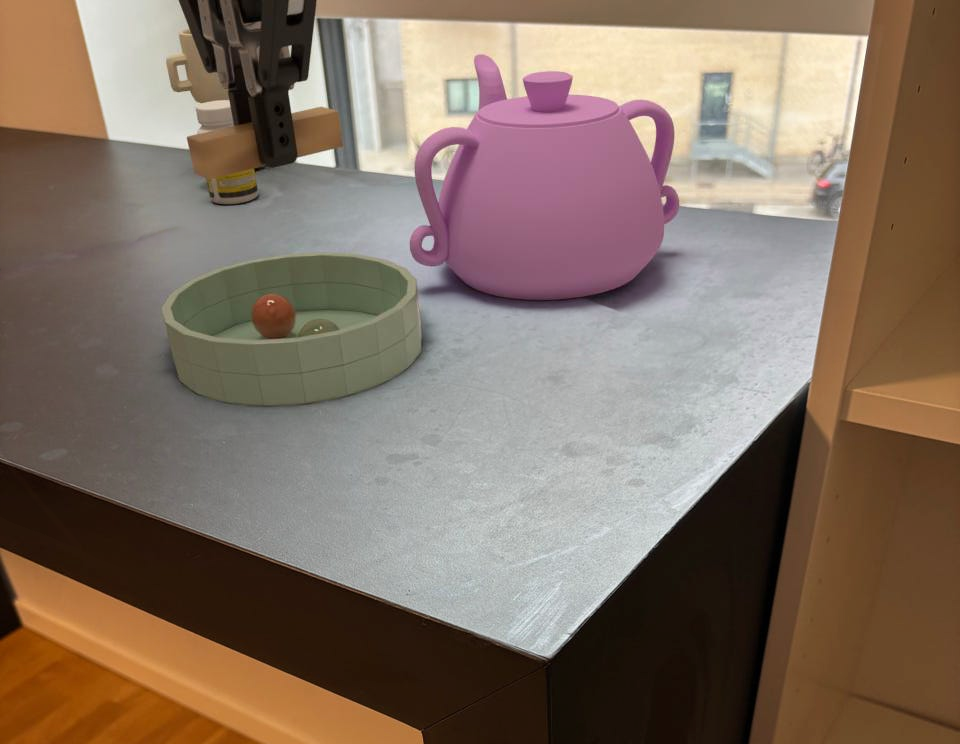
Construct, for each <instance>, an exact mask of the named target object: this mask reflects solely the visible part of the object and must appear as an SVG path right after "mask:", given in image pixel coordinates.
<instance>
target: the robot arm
mask: <svg viewBox="0 0 960 744" xmlns="http://www.w3.org/2000/svg"><path fill="white" fill-rule="evenodd" d="M317 1H318V0H178V2H179V5H180V9H181V10H182V13H183V15H184V19H185V22H186V24H187V26H188V29H190V31H191V34H192V37H193V39H194V42H195V44H196V47H197V50H198V52H199V55H200V57H201V60H202V62H203V65H204V68H205V70H206V71H207V72H208V73H214V72H217V73H218V78H219V82H220V84H221V86H222V87H223V88H224V89H228V90H229V91H228V96H229V101H230V107H231V112H232V118H233V123H234V126H237V125H241V124H245V123H250V122H252V123H253V129H254V132H255V138H256V143H257V149H258V155H259V160H260V162H261V163H262V164H263V165H264V166H263V167H267V168H271V169H274V168H277V167H283V166H286V165H291V164H294V163H295V162H296V161H297V159H298V158H297V155H298V154H297V147H296V140H295V133H294V127H293V120H292V114H291V113H292V109H291V100H290V95H289V94H290V93H289V91H292V90H294V88H295V84H296V83H301V82H306V81H308V79H309V73H310V66H311V65H310V64H311V55H312V44H313V38H314V28H315V18H316V10H317V3H318V2H317ZM212 44H213V45H212ZM290 46H291V48H290Z"/></svg>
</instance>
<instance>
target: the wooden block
mask: <svg viewBox="0 0 960 744" xmlns="http://www.w3.org/2000/svg"><path fill="white" fill-rule="evenodd" d="M291 114H292V120H293V127H294V133H295V140H296V147H297V154H298V155H297V159H298V158H302V157H306V156H310V155H311V156H312V155H315V154H319V153H322V152H327V151H331V150H334V149H339V148H342V147H343V146H344V142H343V136H342V129H341V121H340V113H339V110H337V109H333V108H329V107H324V106H317V107H314V108H308V109H304V110H299V111H295V112H291ZM186 141H187V146H188V150H189V155H190V159H191V162H192V167H193V171H194V174H195V175H198V176H201V177H203V178H205V179H206V178H208V179H213V178H217V177H221V176H225V175H229V174H233V173H238V172H242V171H246V170H250V169H254V170H255V169H257V168H261V167H265V166H264V165H263V164H262V163H261V162H260V160H259V155H258V149H257V143H256V138H255V132H254V129H253V123H252V122H250V123H245V124H241V125H237V126H232V127H228V128H223V129H219V130H214V131H210V132H205V133H201V134H197V133H196V134H193V135H188V136H186Z"/></svg>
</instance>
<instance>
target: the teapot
mask: <svg viewBox="0 0 960 744" xmlns="http://www.w3.org/2000/svg"><path fill="white" fill-rule="evenodd" d="M473 66H474V69H475V72H476V76H477V82H478V83H477V84H478V111H477V112H476V113H475V115H474V116H473V118H472V119H471V121H470V123H469V124H468V126H467V128H464V127H460V126H459V127H458V126H450V127H445V128H442V129H440V130H437V131H436V132H433V133H432V134H431V135H430V136H428V137H427V138H426V139H425V140H424V141H423V143H422V144H421V145H420V146H419V148H418V149H417V152H416V155H415V159H414V167H413V168H414V169H413V170H414V179H415V184H416V188H417V192H418V195H419V198H420V201H421V204H422V207H423V210H424V212H425V214H426V218H427V221H428V223H429V225H427V224H423V225H420V226H417V227H416V228H415V229H414V230H413V231H412V234H411V235H410V238H409V239H410V240H409V251H410V254H411V257H412V259H413V260H414V261H415V262H416V263H418V264H420V265H422V266H425V267H438V266H441V265H443V264H444V263H445V264H446V265H447V266H448V267H449V268H450V269H451V270H452V272H454V273H455V275H457V277H458V278H459V279H460V280H461V281H462V282H463V283H465V285H468V287H470V288H472V289H473V290H476V291H479V292H480V293H481V292H482V293H485V294H488V295H492V296H495V297H502V298H507V299H515V300H527V301H555V300H567V299H574V298H576V299H577V298H582V297H588V296H593V295H598V294H601V293H605V292H609V291H612V290H615V289H617V288H620V287H622V286H624V285H627V283H629V282H631V281H632V280H634V279H635V278H636V277H637V276H638V275H639V274H640V273H641V271H642V270H643V269H644V268H645V267H647V265H648V264H649V263H650V262H651V260H652V259H653V258H654V256H656V254H657V253H658V251H659V250H660V248H661V247H662V243H663V240H664V236H665V225H667V224H668V223H670V222H671V221H672V220H673V219H675V217H676V216H677V215H678V214H679V213H678V212H679V210H680V198H679V194H678V193H677V191H676V189H675V188H673V186H670V185H665V184H664V183H665V180H666V177H667V173H668V171H669V166H670V163H671V160H672V156H673V151H674V144H675V125H674V122H673V119H672V117H671V114H670V113H669V112H668V111H667V110H666V109H665V108H664V107H663V106H661V105H660V104H659V103H656V102H654V101H651V100H648V99H633V100H630V101H627V102H625V103H623V104H621V105H619V104H618V103H617V102H615V101H613V100H611V99H609V98H605V97H600V96H595V95H587V94H586V95H585V94H571V93H570V90H571V87H572V84H573V79H574V77H573V75H572V74H570V73H568V72H566V71H558V70H557V71H556V70H554V71H553V70H549V71H548V70H547V71H539V72H533V73H529V74H527V75H525V76H523V78H522V83H523V88H524V90H525V94H526V96H517V97H512V98H508V97H507V93H506V89H505V85H504V82H503V78H502V74H501V71H500V68H499V66H498V65H497V63H496V62H495V60H494V59H493V58H492V57H491V56H488V55H486V54H483V53H482V54H481V53H479V54H476V55H475V56H474V58H473ZM639 117H648V118H651V119H652V120H653V122H654V125H655V142H654V147H653V151H652V152H653V153H652V156H651V160H650V157H649V155H648V153H647V151H646V149H645V147H644V145H643V143H642V142H641V140H640V137H639V136H638V134H637V132H636V130H635V128H634V126H633V125H632V122H631V120H634V119H636V118H639ZM455 145H458V146H457V148H456V151H455V153H454V155H453V156H452V159H451V161H450V163H449V165H448V169H447V171H446V174H445V176H444V179H443V182H442V185H441V189H440V192H439V197H438V198H437V194H436V191H435V187H434V183H433V174H432V168H433V167H432V166H433V163H434V159H435V157H436V156H437V154H438V153H440V151H442V150H444V149H446V148H448V147H451V146H455ZM664 197H665V203H664V204H663V200H662V198H664ZM426 237H433V246H432V248H431V249H430V250H426V249H424V248H423V241H424V239H425V238H426Z"/></svg>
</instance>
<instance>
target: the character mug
mask: <svg viewBox="0 0 960 744" xmlns="http://www.w3.org/2000/svg"><path fill="white" fill-rule="evenodd" d="M178 38H179V44H180V48H181V52H182V53H176V54H171V55H168V56H167V57H166V61H165V64H166V65H165V66H166V69H167V74H168V78H169V83H170V87H171V89H172V91H173V92H175V93H185V92H190V95H191V96H192V98H193V99H194V101H195V103H199V104H202V103H206V102H211V101H219V100H229V96H228V91H229V90H228V89H224V88H223V87H222V86H221V84H220V82H219V78H218V73H217V72H214V73H208V72H207V71H206V70H205V68H204V65H203V62H202V60H201V57H200V55H199V52H198V50H197V47H196V44H195V42H194V39H193V37H192V34H191V31H190V29H189V28H187V29H182V30H180V31H179V32H178ZM212 45H213V44H212ZM183 65H184V69H185V74H186V79H185V80H180V76H179V71H178V66H183Z"/></svg>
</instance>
